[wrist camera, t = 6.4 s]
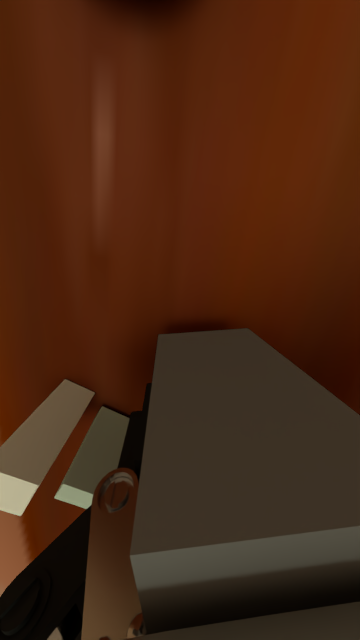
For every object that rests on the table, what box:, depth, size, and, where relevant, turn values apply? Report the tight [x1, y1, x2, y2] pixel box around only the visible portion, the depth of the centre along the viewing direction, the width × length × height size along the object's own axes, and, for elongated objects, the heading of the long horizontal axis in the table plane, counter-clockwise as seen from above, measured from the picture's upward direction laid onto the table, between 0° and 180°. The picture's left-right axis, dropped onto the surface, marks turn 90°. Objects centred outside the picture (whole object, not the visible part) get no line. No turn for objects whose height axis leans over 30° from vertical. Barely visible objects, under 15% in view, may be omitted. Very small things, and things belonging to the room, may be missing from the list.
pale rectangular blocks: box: [0, 379, 95, 516], centre depth 14 cm, size 30×3×7 cm, turn 58°
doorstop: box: [130, 328, 360, 633], centre depth 7 cm, size 5×7×8 cm
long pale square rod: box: [54, 406, 130, 509], centre depth 14 cm, size 19×2×6 cm, turn 58°
